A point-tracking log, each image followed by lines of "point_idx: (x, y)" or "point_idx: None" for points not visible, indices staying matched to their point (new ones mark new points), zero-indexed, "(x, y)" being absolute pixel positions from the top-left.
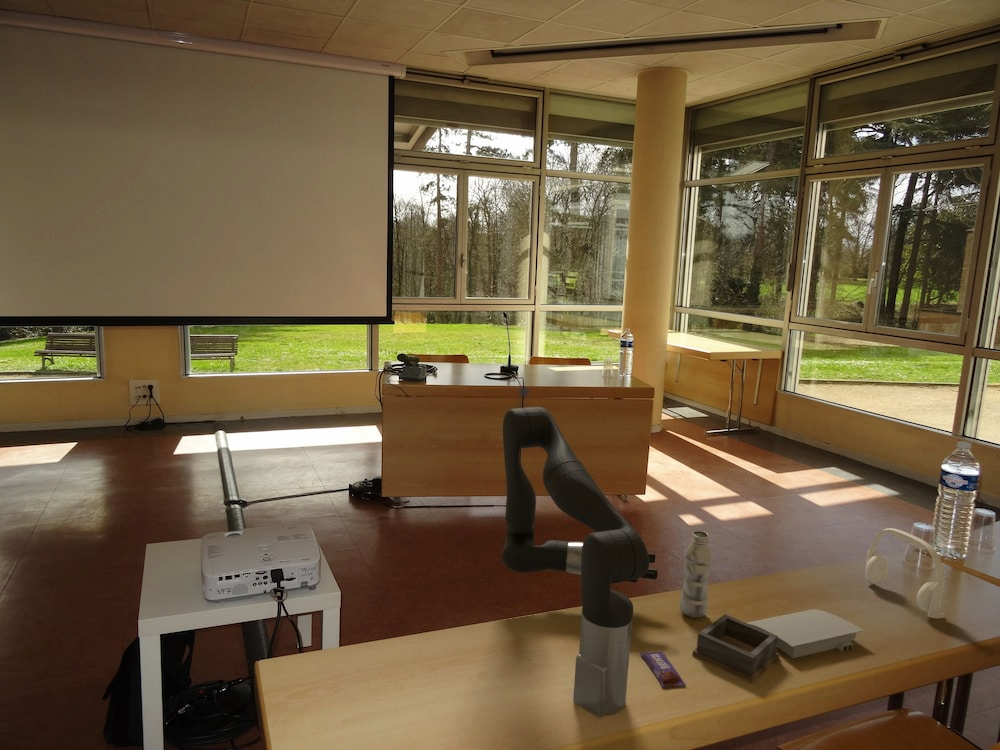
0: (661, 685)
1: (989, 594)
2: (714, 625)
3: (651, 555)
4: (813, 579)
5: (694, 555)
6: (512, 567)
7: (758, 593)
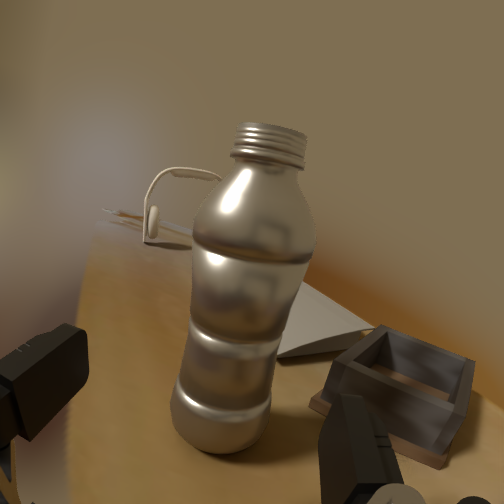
0: None
1: (178, 225)
2: (404, 387)
3: (70, 345)
4: (114, 257)
5: (308, 220)
6: None
7: (132, 304)
